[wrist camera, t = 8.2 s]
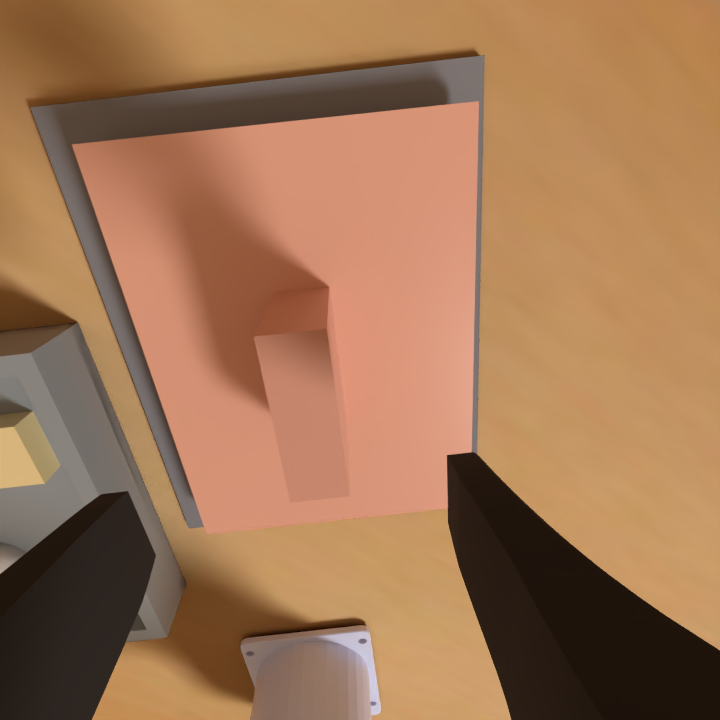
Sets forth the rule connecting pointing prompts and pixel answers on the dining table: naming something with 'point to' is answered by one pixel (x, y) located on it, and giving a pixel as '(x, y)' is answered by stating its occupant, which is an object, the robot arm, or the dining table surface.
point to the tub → (70, 458)
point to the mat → (226, 111)
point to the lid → (303, 305)
